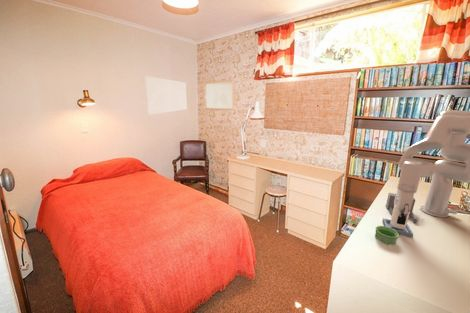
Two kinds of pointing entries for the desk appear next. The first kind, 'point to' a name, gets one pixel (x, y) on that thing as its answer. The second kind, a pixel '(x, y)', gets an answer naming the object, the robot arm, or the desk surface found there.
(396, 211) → the can
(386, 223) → the tray
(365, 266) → the desk surface
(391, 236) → the ramekin
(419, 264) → the desk surface
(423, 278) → the desk surface
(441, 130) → the robot arm
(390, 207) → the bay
